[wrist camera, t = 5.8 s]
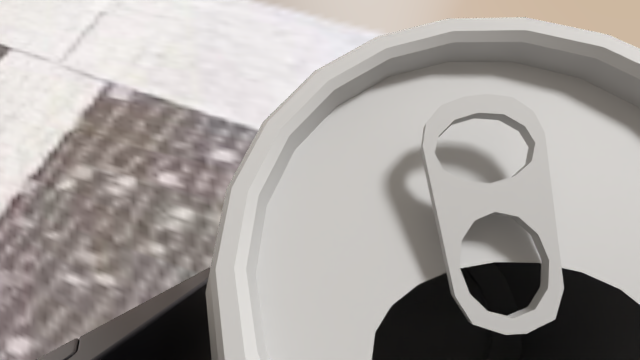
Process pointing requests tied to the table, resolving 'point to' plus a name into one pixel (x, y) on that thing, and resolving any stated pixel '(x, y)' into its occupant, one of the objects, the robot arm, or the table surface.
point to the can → (441, 204)
